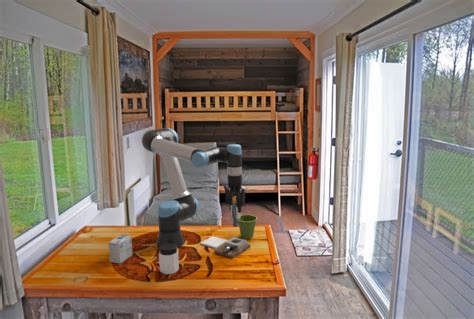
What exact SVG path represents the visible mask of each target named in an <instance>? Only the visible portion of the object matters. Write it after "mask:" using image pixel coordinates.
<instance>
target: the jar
mask: <svg viewBox="0 0 474 319" xmlns="http://www.w3.org/2000/svg"><path fill="white" fill-rule="evenodd" d="M158 261H159V262H158V263H159V272H160V273H162V274H164V275H171V274H175V273H177V271H179V269H180V264H179V261H180V260H179V250H178V248H177V245H176V244H173V243H167V244H163V245H161V246H160V248H159V252H158Z"/></svg>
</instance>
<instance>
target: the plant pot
mask: <svg viewBox="0 0 474 319" xmlns="http://www.w3.org/2000/svg"><path fill="white" fill-rule="evenodd" d="M257 220H258V217H257V216H255V215H253V214H240V218H239V219H238V227H239V234H240V237H241V239H251V238H254V233H255V227H256V223H257Z"/></svg>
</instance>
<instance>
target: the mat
mask: <svg viewBox="0 0 474 319" xmlns="http://www.w3.org/2000/svg"><path fill="white" fill-rule="evenodd" d="M228 240H229V239H225V238H221V237H217V236H210V237H208V238H207V239H205V240H202V241H201V242H199V244H200V245H201V246H204V247H208V248H212V249H214V250H216V249H218V248H219V247H221V246H223V245H225V242H226V241H228Z"/></svg>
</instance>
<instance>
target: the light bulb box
mask: <svg viewBox="0 0 474 319" xmlns="http://www.w3.org/2000/svg"><path fill="white" fill-rule="evenodd" d="M107 244H108V251H109V254H108V255H109V262H110V263H116V264H122V263H123V262H125V261H126V260H127V259H129V258H131V257H132V256H133V241H132V235H127V234H120V235H118V236H116V237H115V238H113V239H111V240H110V241H108V243H107Z"/></svg>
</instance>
